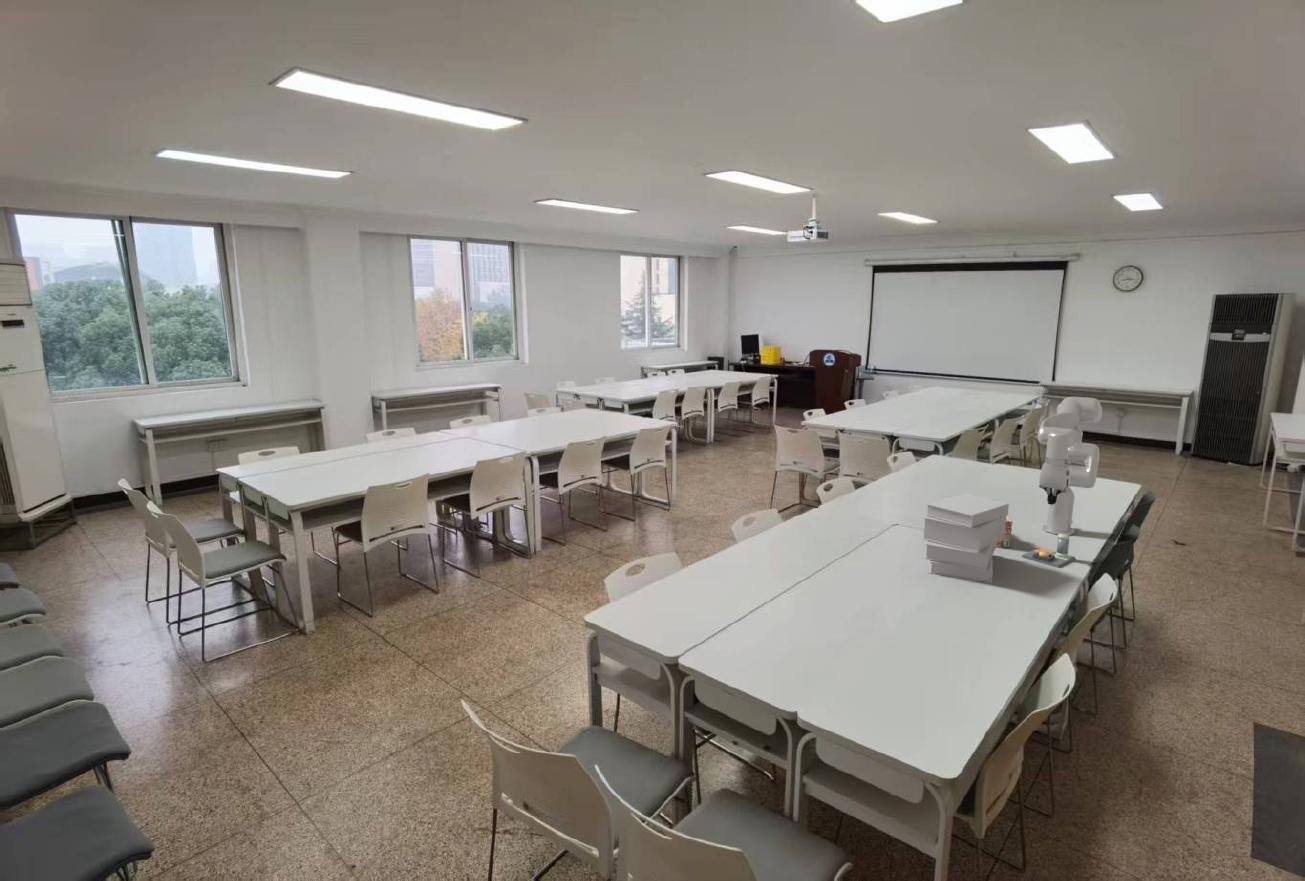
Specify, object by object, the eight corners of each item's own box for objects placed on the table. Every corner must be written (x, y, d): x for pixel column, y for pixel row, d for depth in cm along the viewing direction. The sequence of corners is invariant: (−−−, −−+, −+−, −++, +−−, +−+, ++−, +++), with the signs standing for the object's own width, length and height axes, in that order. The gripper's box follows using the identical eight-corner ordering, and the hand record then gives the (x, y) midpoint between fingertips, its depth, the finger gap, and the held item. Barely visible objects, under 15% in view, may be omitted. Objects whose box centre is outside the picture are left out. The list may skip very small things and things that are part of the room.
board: (1039, 549, 280) (1039, 544, 280) (1075, 559, 269) (1075, 553, 268) (1022, 557, 272) (1022, 551, 271) (1058, 567, 260) (1059, 561, 260)
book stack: (1001, 555, 274) (1007, 496, 269) (1004, 586, 243) (1011, 520, 238) (924, 544, 287) (928, 488, 282) (917, 573, 256) (922, 510, 251)
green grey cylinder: (1059, 553, 272) (1061, 533, 271) (1069, 556, 269) (1071, 535, 267) (1054, 555, 270) (1056, 534, 269) (1064, 558, 267) (1066, 537, 265)
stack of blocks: (977, 531, 304) (979, 505, 302) (991, 531, 303) (994, 506, 301) (994, 547, 283) (997, 520, 281) (1010, 548, 283) (1012, 520, 280)
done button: (1041, 555, 270) (1041, 550, 269) (1050, 557, 267) (1050, 553, 267) (1036, 557, 268) (1037, 552, 267) (1046, 559, 265) (1046, 555, 265)
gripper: (1080, 463, 265) (1075, 506, 269) (1041, 456, 277) (1037, 497, 281) (1071, 466, 261) (1067, 510, 265) (1032, 459, 273) (1028, 501, 277)
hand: (1051, 503), depth 273 cm, fingers closed
